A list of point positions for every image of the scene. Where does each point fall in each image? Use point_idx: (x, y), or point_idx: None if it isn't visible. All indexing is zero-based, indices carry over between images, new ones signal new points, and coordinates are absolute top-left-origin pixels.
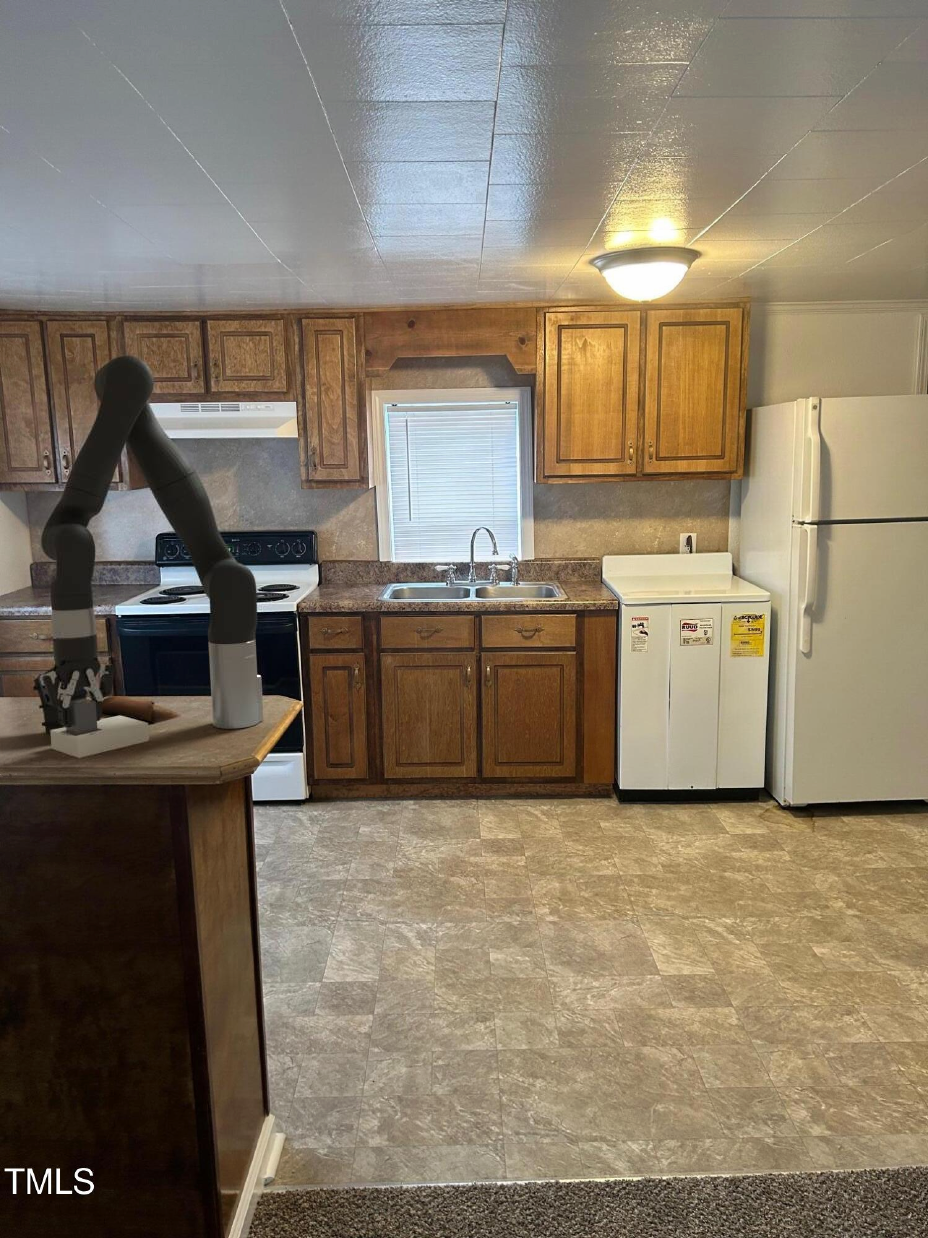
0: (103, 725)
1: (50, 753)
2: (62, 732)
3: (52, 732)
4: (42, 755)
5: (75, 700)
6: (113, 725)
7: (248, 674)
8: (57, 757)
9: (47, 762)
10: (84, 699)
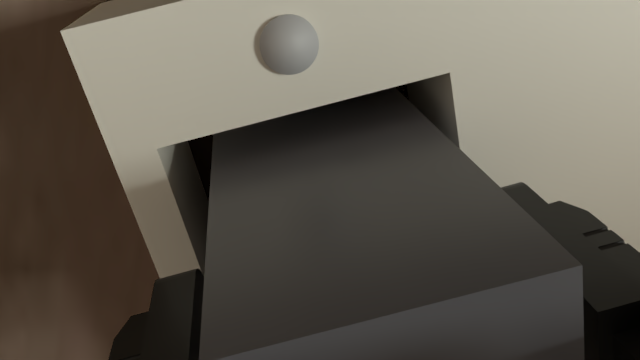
0: (546, 170)
1: (77, 139)
2: (166, 205)
3: (83, 75)
4: (14, 159)
5: (407, 321)
6: (602, 222)
7: None
8: (113, 271)
9: (38, 345)
10: (544, 331)
